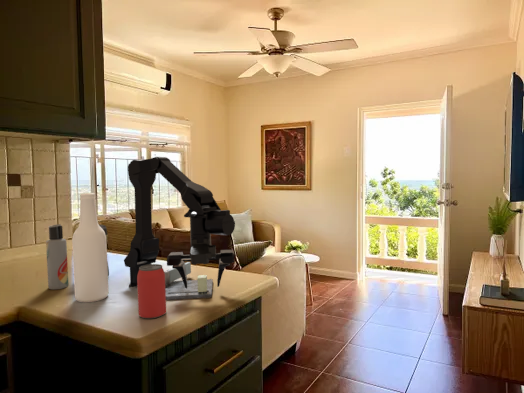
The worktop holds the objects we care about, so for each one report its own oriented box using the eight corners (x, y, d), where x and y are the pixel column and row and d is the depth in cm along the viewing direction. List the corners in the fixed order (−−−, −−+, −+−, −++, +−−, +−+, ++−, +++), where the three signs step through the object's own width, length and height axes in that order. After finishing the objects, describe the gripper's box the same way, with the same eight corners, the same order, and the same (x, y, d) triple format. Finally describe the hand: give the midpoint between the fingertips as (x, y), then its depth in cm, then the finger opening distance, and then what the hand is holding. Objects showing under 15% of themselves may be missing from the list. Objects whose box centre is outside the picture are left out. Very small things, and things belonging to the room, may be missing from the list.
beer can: (142, 310, 96) (140, 264, 95) (168, 309, 96) (166, 263, 96) (135, 320, 89) (133, 270, 89) (163, 318, 90) (162, 269, 89)
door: (167, 284, 115) (167, 272, 115) (162, 283, 116) (162, 271, 116) (191, 273, 128) (191, 262, 128) (187, 273, 129) (186, 262, 129)
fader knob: (197, 292, 106) (197, 277, 106) (198, 289, 109) (198, 275, 109) (206, 291, 106) (206, 277, 106) (207, 288, 109) (206, 274, 109)
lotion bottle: (72, 285, 122) (69, 223, 121) (57, 290, 116) (54, 226, 116) (59, 284, 124) (56, 223, 123) (44, 288, 118) (40, 225, 117)
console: (156, 300, 104) (156, 296, 104) (165, 284, 120) (165, 281, 120) (211, 297, 105) (211, 293, 105) (212, 282, 121) (212, 278, 121)
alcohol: (67, 301, 105) (62, 194, 104) (92, 292, 113) (87, 192, 112) (92, 304, 102) (87, 193, 101) (115, 294, 110) (111, 192, 109)
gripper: (162, 239, 98) (164, 297, 99) (234, 236, 100) (236, 293, 101) (168, 233, 109) (170, 286, 110) (233, 230, 111) (234, 282, 112)
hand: (202, 287), depth 108 cm, fingers open, 9 cm apart
